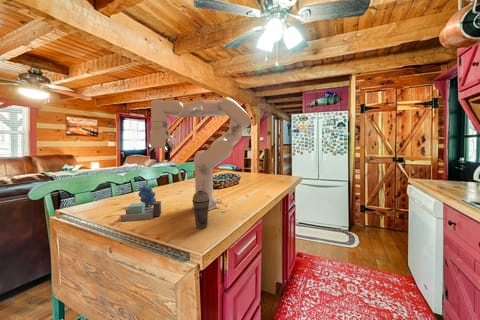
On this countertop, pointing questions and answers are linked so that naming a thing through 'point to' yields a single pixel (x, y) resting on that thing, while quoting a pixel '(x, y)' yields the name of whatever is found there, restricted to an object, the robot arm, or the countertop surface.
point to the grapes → (147, 195)
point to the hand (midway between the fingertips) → (160, 159)
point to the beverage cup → (201, 208)
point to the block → (136, 208)
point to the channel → (136, 216)
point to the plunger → (155, 209)
